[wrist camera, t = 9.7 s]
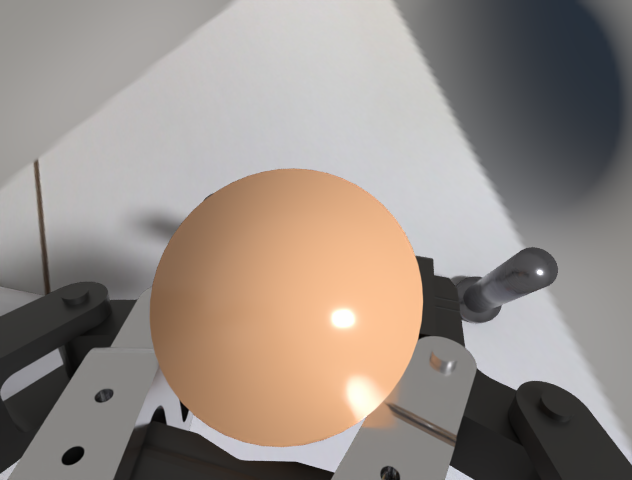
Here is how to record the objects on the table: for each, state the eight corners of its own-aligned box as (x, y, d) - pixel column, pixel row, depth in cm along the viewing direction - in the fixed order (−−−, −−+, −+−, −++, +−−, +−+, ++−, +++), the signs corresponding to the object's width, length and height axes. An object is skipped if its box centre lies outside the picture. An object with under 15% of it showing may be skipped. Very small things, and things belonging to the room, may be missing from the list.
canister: (268, 379, 15) (110, 403, 6) (294, 273, 17) (196, 153, 7) (378, 407, 15) (398, 486, 5) (396, 293, 16) (440, 187, 6)
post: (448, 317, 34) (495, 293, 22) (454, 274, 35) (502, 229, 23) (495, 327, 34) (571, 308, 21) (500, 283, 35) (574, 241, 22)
